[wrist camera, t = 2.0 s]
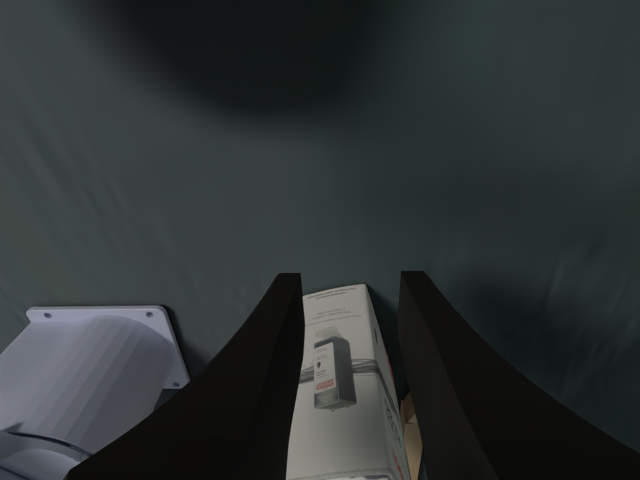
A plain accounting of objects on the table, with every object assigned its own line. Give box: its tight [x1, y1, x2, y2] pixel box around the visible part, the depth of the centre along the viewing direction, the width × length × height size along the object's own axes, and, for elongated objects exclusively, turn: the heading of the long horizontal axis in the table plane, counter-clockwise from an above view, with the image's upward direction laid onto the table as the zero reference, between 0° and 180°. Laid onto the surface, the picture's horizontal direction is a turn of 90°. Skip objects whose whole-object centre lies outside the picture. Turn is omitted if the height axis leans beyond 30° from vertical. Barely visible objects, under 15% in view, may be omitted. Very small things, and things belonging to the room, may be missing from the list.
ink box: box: [286, 284, 411, 480], centre depth 21 cm, size 9×5×12 cm, turn 17°
